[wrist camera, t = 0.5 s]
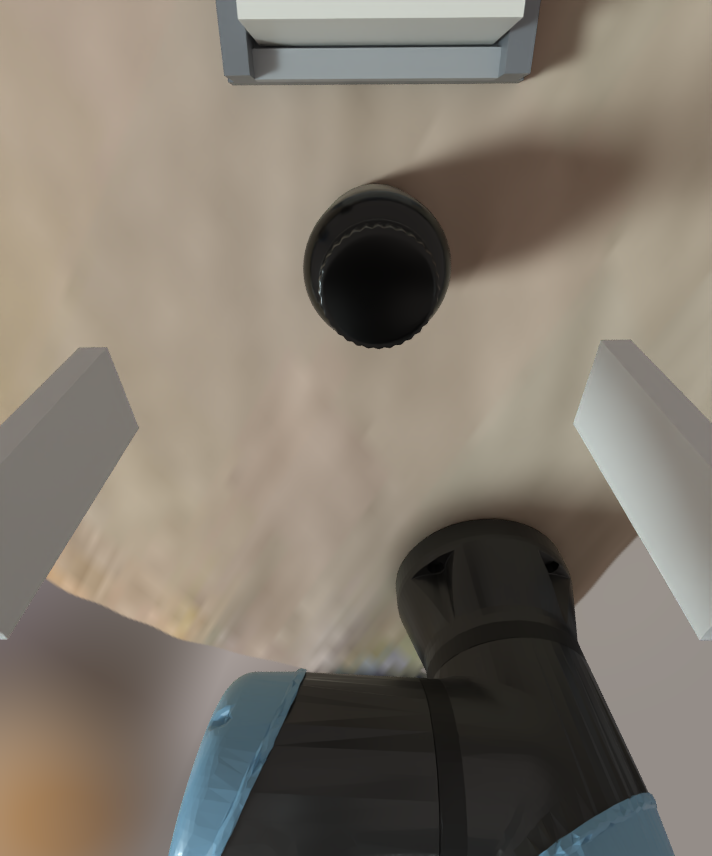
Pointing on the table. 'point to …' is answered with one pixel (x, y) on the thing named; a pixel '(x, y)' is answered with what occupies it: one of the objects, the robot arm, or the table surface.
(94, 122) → the table surface
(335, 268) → the supplement bottle
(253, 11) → the plate
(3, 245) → the table surface
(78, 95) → the table surface
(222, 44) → the pusher lane
